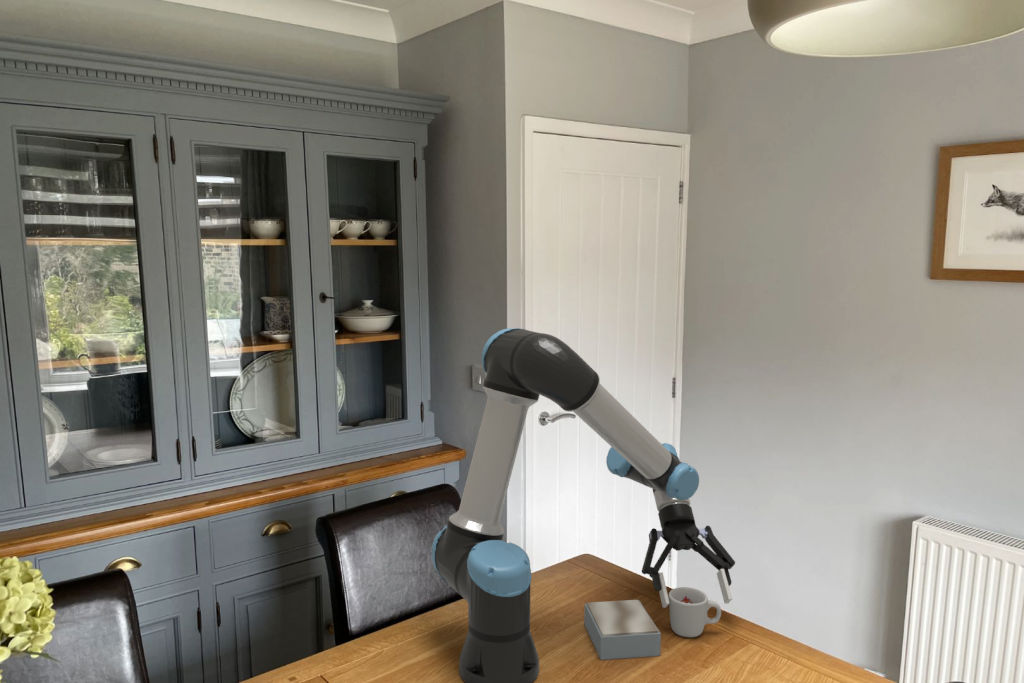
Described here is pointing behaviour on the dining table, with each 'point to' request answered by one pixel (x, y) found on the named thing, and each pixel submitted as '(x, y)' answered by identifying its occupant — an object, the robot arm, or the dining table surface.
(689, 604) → the cup
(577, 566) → the dining table surface
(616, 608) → the grey flat block
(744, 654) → the dining table surface
